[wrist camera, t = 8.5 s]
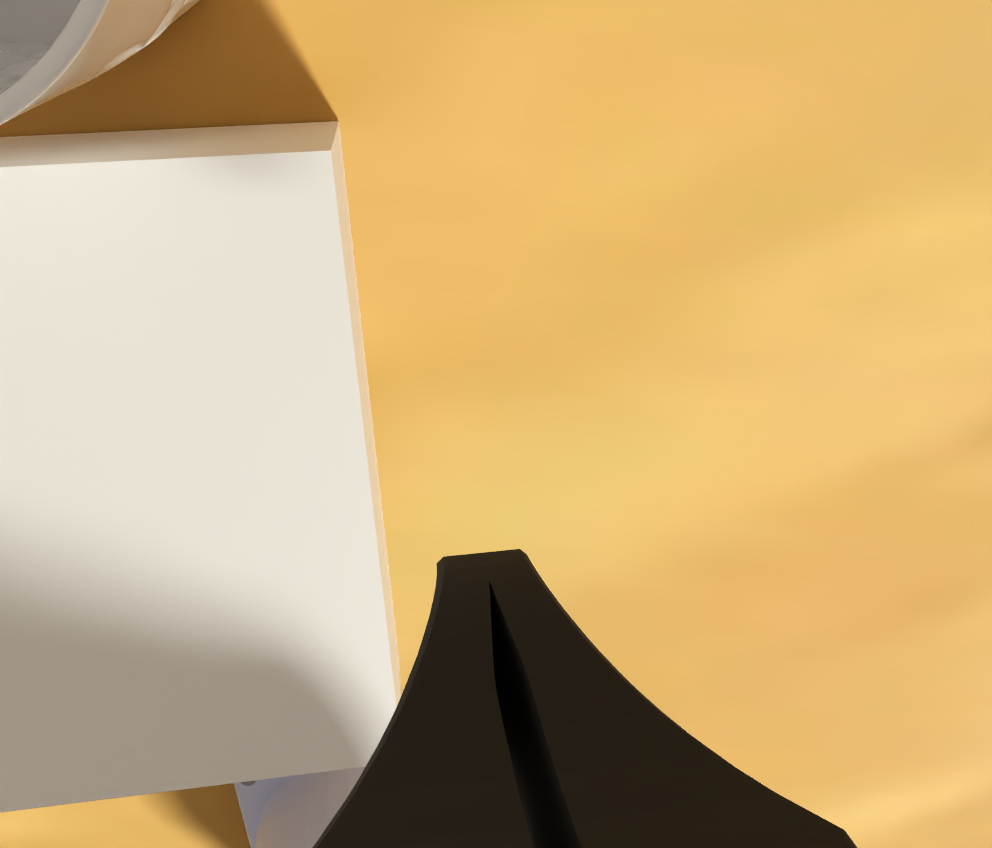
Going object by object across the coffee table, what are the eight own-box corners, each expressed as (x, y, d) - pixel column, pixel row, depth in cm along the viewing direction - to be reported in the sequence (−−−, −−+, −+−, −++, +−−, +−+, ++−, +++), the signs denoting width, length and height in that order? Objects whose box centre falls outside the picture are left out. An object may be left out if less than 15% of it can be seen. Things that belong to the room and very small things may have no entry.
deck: (399, 662, 27) (403, 761, 24) (19, 705, 26) (-36, 817, 23) (338, 121, 19) (331, 150, 16) (-214, 147, 18) (-356, 185, 15)
